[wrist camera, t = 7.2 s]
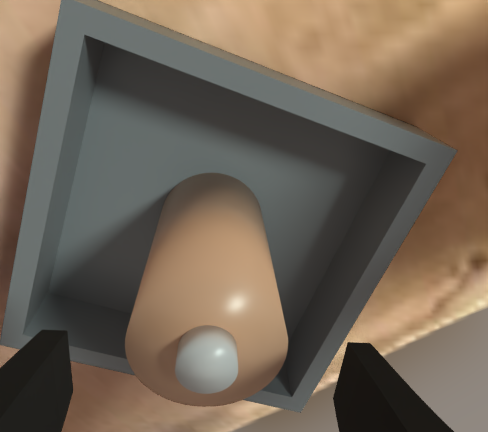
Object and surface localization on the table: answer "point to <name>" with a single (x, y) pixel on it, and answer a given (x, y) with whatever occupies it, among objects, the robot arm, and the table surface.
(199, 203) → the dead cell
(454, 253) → the table surface
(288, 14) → the table surface
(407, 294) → the table surface
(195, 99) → the bin
